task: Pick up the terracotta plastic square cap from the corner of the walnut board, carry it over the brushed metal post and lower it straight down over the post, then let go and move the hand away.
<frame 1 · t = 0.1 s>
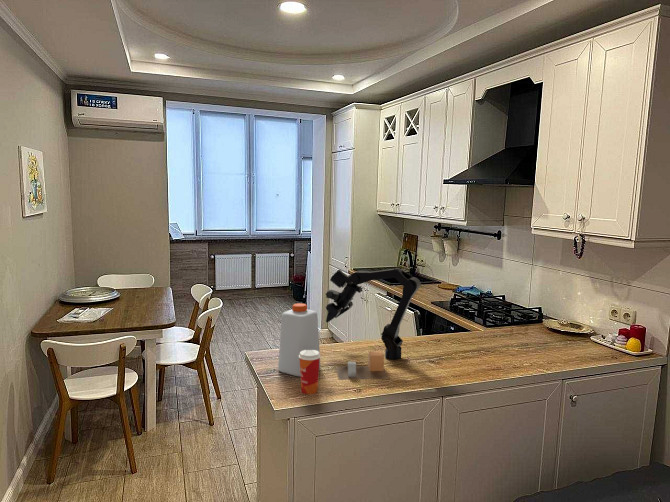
hand: (330, 319, 220), 15 cm above the table, tool tilted 35°, fingers open, 9 cm apart
coffee cup: (309, 391, 174), on the table
walnut board: (361, 375, 191), on the table
square cap: (375, 368, 195), point 1 cm above the table, touching walnut board
metal post: (351, 379, 186), resting on walnut board
plastic bottle: (299, 370, 196), on the table
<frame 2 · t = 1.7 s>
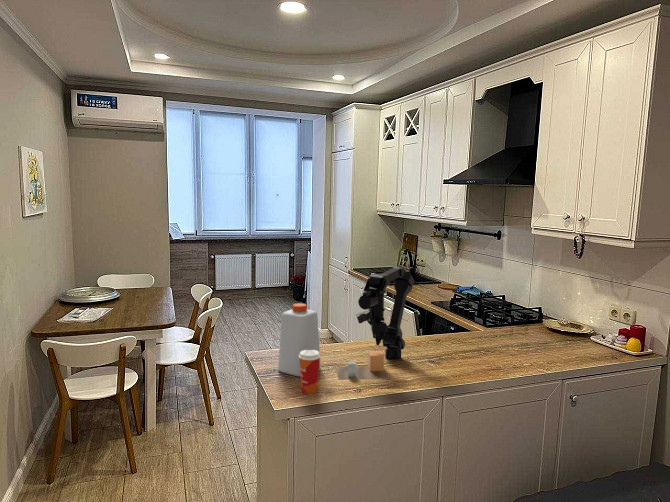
hand: (376, 341, 194), 13 cm above the table, tool pointing down, fingers open, 9 cm apart
nothing on the table moved.
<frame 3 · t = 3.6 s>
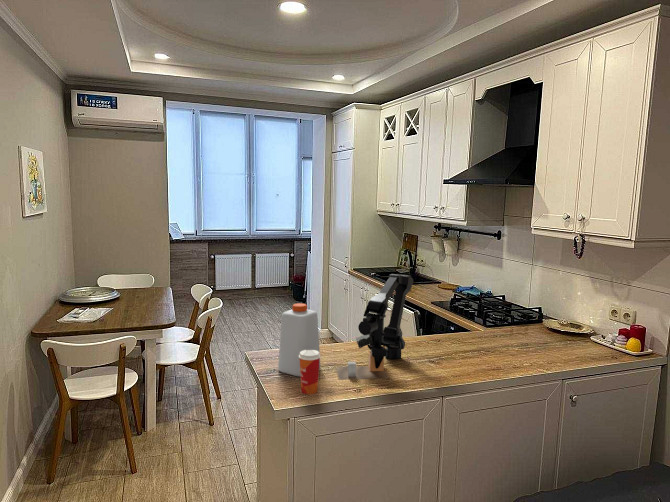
hand: (375, 365, 195), 3 cm above the table, tool pointing down, fingers closed on square cap, 6 cm apart
square cap: (375, 368, 195), point 1 cm above the table, touching gripper, walnut board
everything else where it was.
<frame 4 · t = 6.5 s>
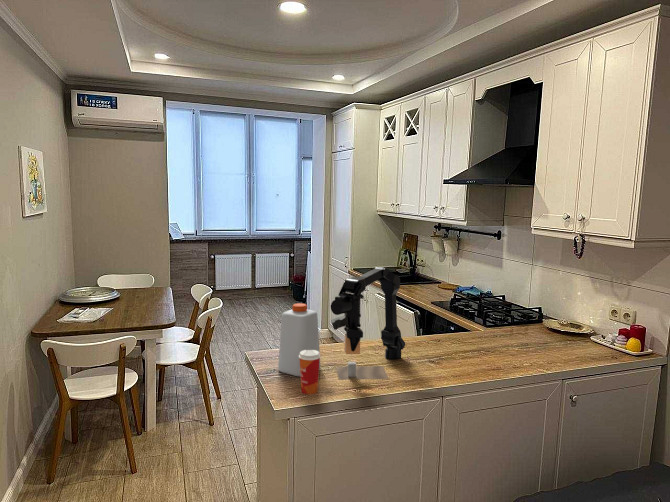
hand: (352, 348, 185), 13 cm above the table, tool pointing down, fingers closed on square cap, 6 cm apart
square cap: (352, 351, 185), point 11 cm above the table, touching gripper
everything else where it was.
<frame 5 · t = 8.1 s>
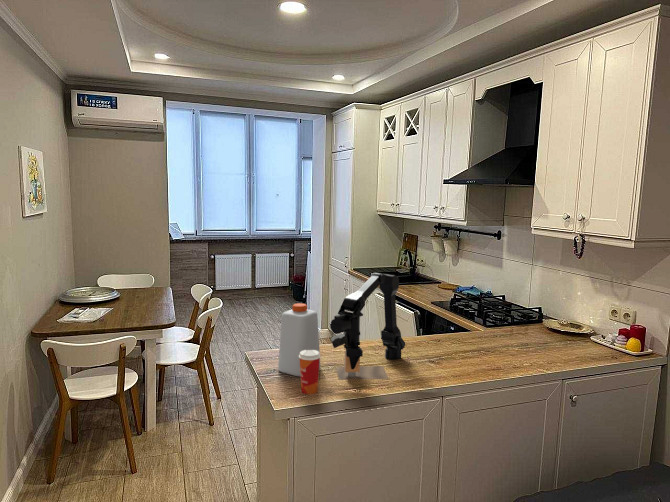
hand: (351, 366, 186), 5 cm above the table, tool pointing down, fingers closed on square cap, 6 cm apart
square cap: (351, 369, 186), point 4 cm above the table, touching gripper
everything else where it was.
when the fingers open (3 cm above the table, at t = 9.6 s): square cap stays where it is, resting on walnut board.
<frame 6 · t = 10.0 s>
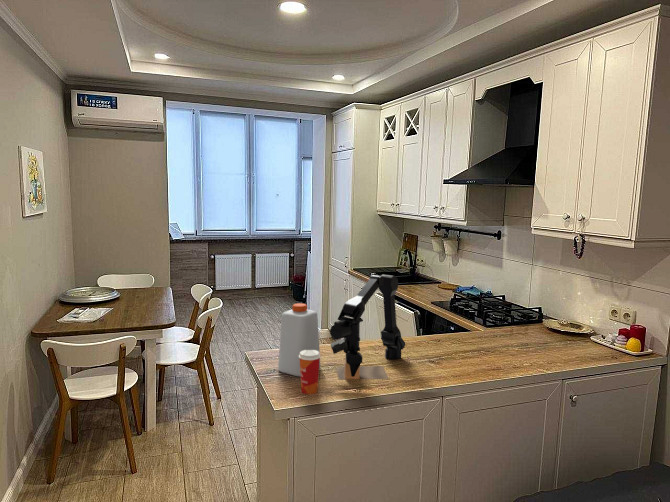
hand: (351, 371, 186), 3 cm above the table, tool pointing down, fingers open, 9 cm apart
square cap: (351, 376, 186), point 1 cm above the table, touching walnut board
everything else where it was.
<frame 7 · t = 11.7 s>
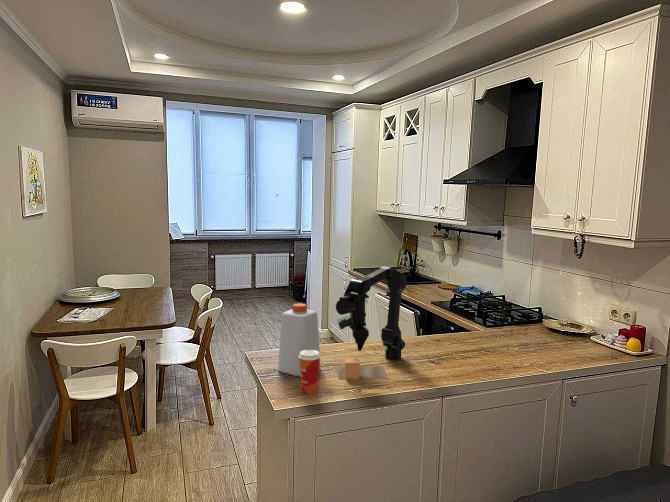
hand: (358, 347, 191), 11 cm above the table, tool pointing down, fingers open, 9 cm apart
nothing on the table moved.
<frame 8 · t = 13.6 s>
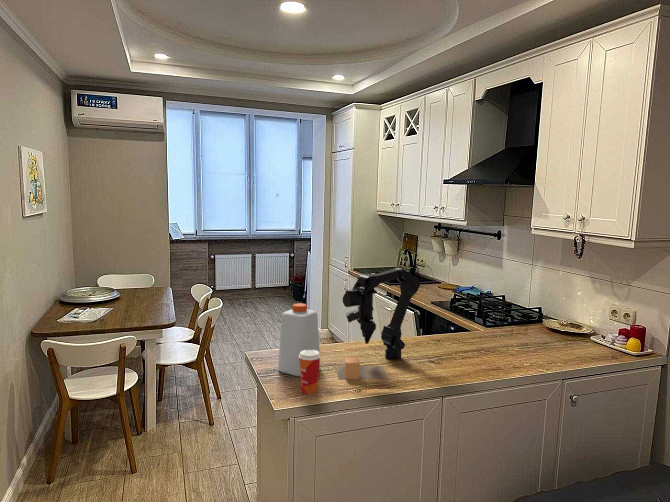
hand: (365, 340, 198), 12 cm above the table, tool pointing down, fingers open, 9 cm apart
nothing on the table moved.
at the end: square cap 0.0 cm from the metal post (horizontally); square cap point 1.2 cm above the table; the gripper is holding nothing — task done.
